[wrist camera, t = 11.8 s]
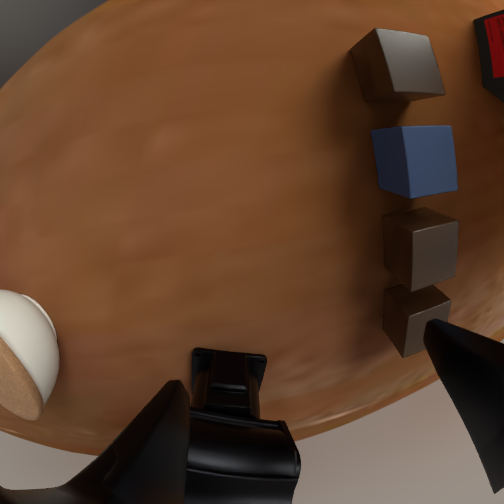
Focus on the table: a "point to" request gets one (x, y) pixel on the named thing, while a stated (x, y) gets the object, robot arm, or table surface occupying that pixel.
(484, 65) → the cleaning product box
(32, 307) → the lidded bowl
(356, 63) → the walnut block
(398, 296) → the walnut block
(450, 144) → the blue block
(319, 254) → the table surface
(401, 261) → the walnut block
